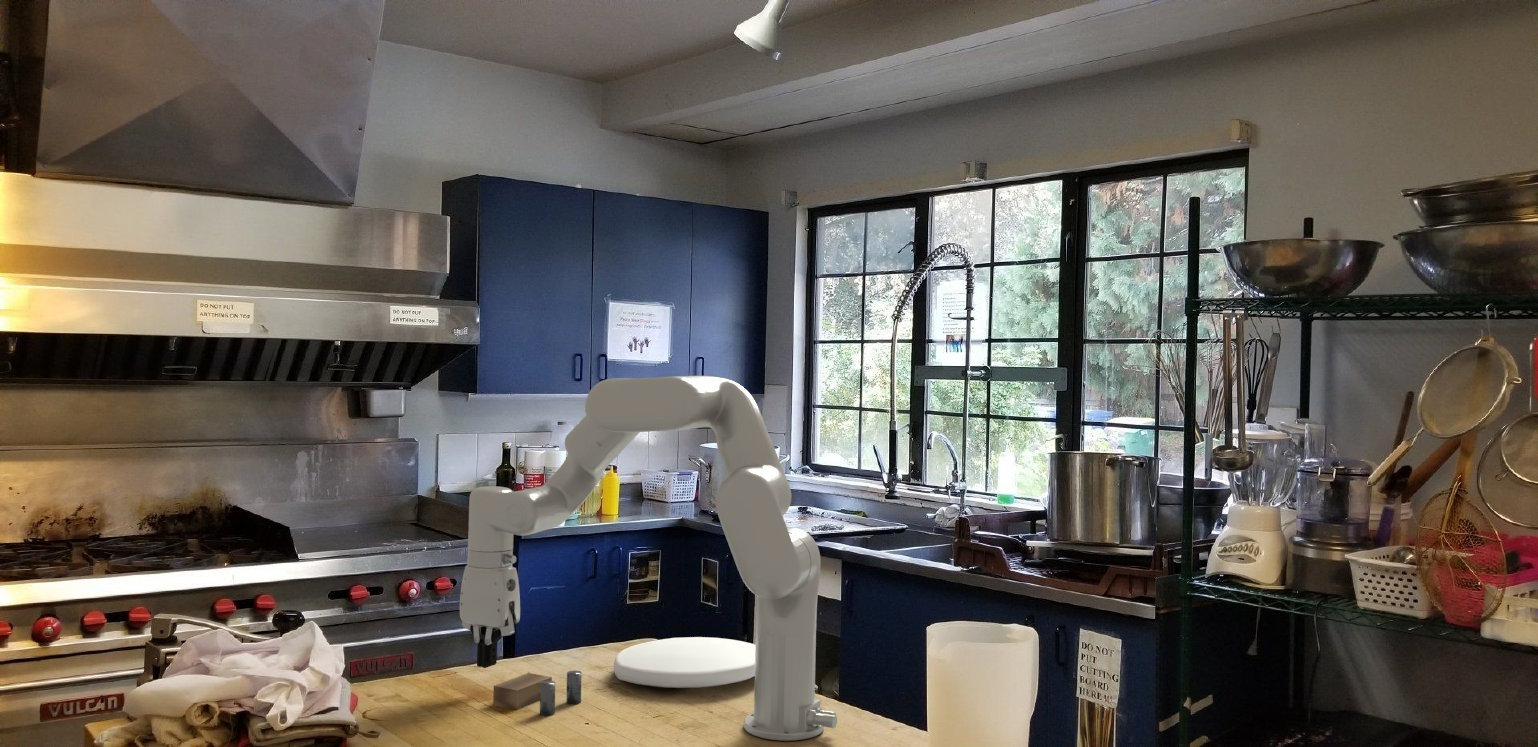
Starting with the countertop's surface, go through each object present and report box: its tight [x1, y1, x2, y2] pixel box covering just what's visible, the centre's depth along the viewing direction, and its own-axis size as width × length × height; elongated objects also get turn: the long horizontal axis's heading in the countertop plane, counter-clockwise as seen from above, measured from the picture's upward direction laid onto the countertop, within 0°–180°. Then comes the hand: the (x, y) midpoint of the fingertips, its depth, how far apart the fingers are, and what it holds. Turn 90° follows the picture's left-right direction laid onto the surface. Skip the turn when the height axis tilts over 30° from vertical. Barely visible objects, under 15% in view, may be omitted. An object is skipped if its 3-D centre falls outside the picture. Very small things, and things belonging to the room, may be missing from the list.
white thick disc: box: [613, 636, 755, 689], centre depth 201 cm, size 28×6×27 cm
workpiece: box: [492, 672, 553, 711], centre depth 185 cm, size 5×9×4 cm, turn 153°
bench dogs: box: [539, 670, 582, 717], centre depth 181 cm, size 2×9×5 cm, turn 153°
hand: (486, 665), depth 188 cm, fingers closed
